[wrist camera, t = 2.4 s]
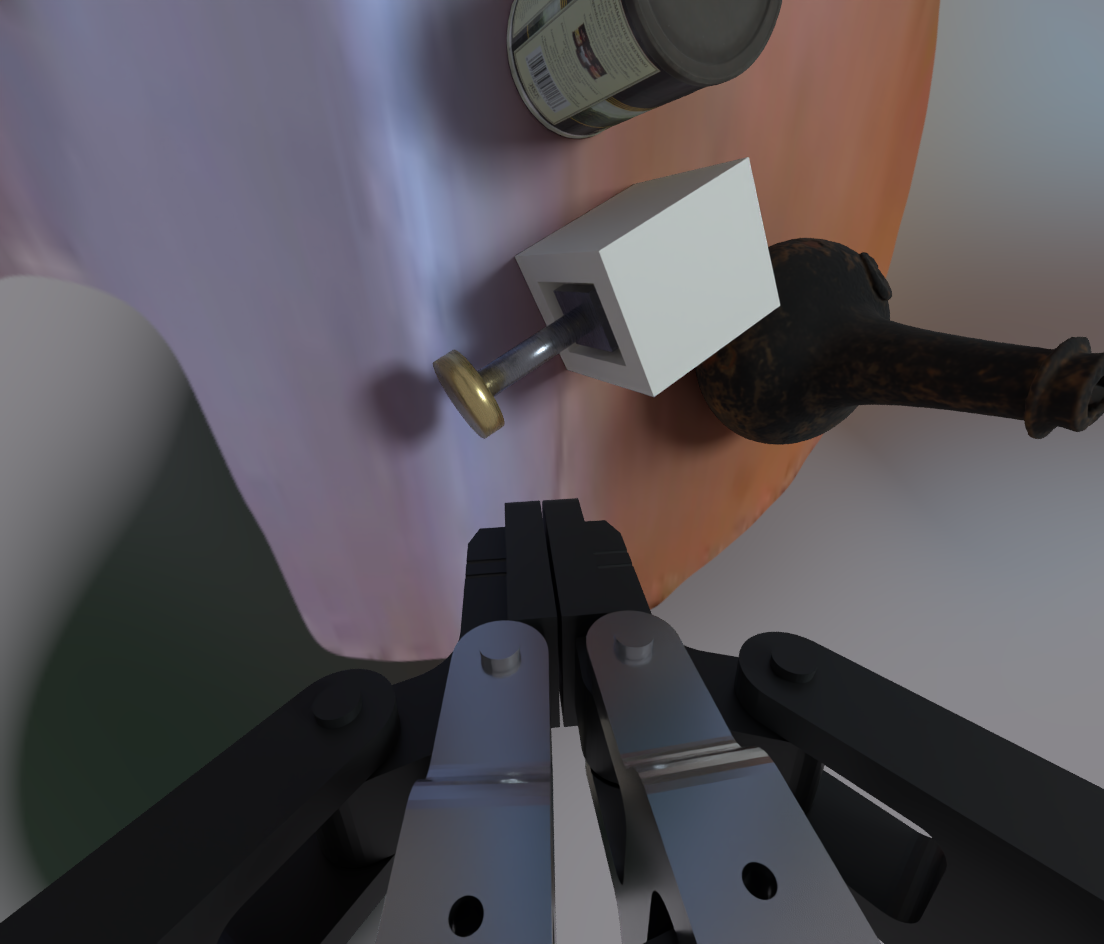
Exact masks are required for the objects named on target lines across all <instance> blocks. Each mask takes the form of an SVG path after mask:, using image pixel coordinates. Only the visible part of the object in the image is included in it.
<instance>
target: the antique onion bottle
mask: <svg viewBox="0 0 1104 944" xmlns="http://www.w3.org/2000/svg"><path fill="white" fill-rule="evenodd" d="M768 250H769V255H770V259H771V264H772V269H773V273H774V278H775V283H776V287H777V292H778V297H779V302H780V306H779V307H778V308H776V309H775V310H773V311H772V312H771V313H769V314H768V315H767V316H765V317H764V318H762V319H761V320H760V321H758V322H757V323H755V324H754V325H753V326H751V327H750V328H749V329H747V330H746V331H744V332H743V333H742V334H740V335H739V336H738V337H736V338H735V339H733V340H732V341H731V342H729V343H728V344H727V345H725V346H724V347H722V348H721V349H720V350H718V351H717V352H716V353H714V354H713V355H711V356H710V357H709V358H707V359H706V360H704V361H703V362H702V363H700V364H699V365H698V366H696V375H697V378H698V383H699V386H700V389H701V392H702V394H703V396H704V399H705V401H706V402H707V404H708V405H709V407H710V409H711V410H712V411H713V413H714V414H715V415H716V417H717V418H718V419H719V420H720V421H721V422H722V423H723V424H724V425H725V426H727V427H728V428H729V429H731V430H732V431H734V432H735V433H737V434H738V435H740V436H742V437H744V438H747V439H749V440H753V441H756V442H761V443H765V444H766V443H767V444H793V443H798V442H801V441H805V440H809V439H811V438H814V437H816V436H819V435H821V434H823V433H825V432H827V431H829V430H830V429H832V428H833V427H835V426H836V425H837V424H839V423H840V422H841V421H843V420H844V419H845V418H847V417H848V416H849V415H850V414H851V413H852V412H853V411H854V410H855V409H856V407H857V406H858V405H871V404H872V405H874V404H875V405H902V406H913V407H925V408H935V409H944V410H953V411H960V412H968V413H977V414H983V415H990V416H998V417H1004V418H1012V419H1018V420H1024V421H1025V427H1026V430H1027V432H1028V435H1029V436H1030V437H1032V438H1035V439H1042V438H1044V437H1046V436H1047V435H1048V434H1049V433H1050V432H1051V431H1052V430H1053V429H1055V428H1056V427H1057V426H1059V427H1063V428H1066V429H1069V430H1072V431H1076V432H1080V431H1083V430H1085V429H1086V428H1087V427H1088V426H1090V425H1091V424H1093V423H1094V422H1095V421H1096V420H1097V419H1098V418H1099V417H1100V416H1102V414H1103V413H1104V353H1091V347H1090V343H1089V340H1088V339H1087V338H1086V337H1071V338H1070V339H1067V340H1066V341H1065V342H1063V343H1061V344H1060V345H1059V346H1058V347H1057V348H1055V349H1044V348H1039V347H1030V346H1022V345H1015V344H1007V343H999V342H994V341H987V340H982V339H975V338H967V337H962V336H957V335H951V334H946V333H940V332H934V331H930V330H925V329H920V328H916V327H912V326H907V325H903V324H900V323H897V322H894V321H890V310H889V304H888V300H889V299H890V298H891V297H892V291H891V288H890V286H889V284H888V282H887V280H886V279H885V278H884V276H883V275H882V273H881V271H880V270H879V269H878V265H877V263H876V262H875V260H874V259H873V258H872V257H870V256H869V255H868V253H863V252H862V253H861V254H858V253H857V252H855V251H853V250H852V249H850V248H848V247H847V246H844V245H842V244H840V243H836V242H831V241H828V240H823V239H814V238H798V239H791V240H788V241H784V242H781V243H777V244H775V245H772V246H770V247H768Z"/></svg>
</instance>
